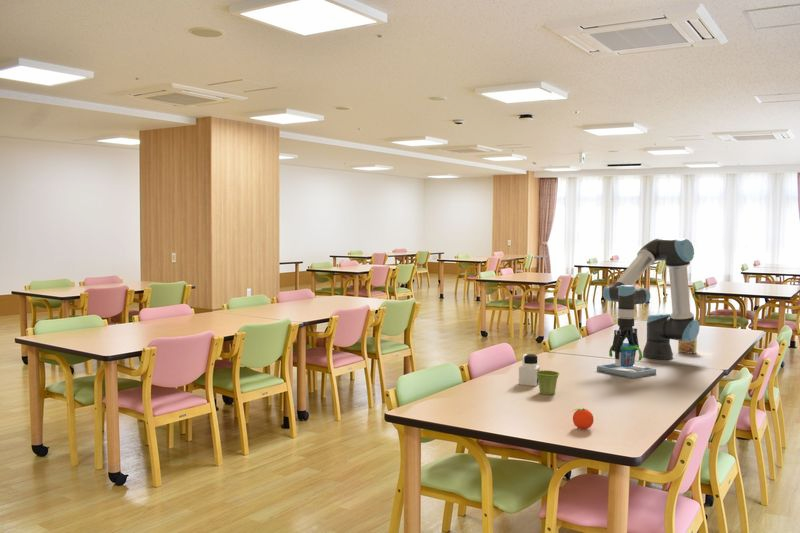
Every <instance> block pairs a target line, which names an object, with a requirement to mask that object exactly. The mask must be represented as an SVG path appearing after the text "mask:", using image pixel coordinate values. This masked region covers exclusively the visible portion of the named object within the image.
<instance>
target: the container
mask: <svg viewBox="0 0 800 533" xmlns="http://www.w3.org/2000/svg"><path fill="white" fill-rule="evenodd" d="M521 363H522V365H521V366H518V385H521V386H531V387H537V385H538V386H539V380H538V375H537V373H536V372H537V371H541V366H540V365H538V356H537V354H532V353H524V354H523V355H522V362H521Z"/></svg>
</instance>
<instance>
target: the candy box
mask: <svg viewBox="0 0 800 533" xmlns="http://www.w3.org/2000/svg"><path fill="white" fill-rule="evenodd" d="M697 339H698V336H697V337H696V338H695V340H693V341H690V342H689V341H680V340H677V341H678V342H677V343H678V347H677V352H678V351H679V353H685V352H689V353H688V354H692V353H695V354H697V345H698V344H697V342H698V340H697Z"/></svg>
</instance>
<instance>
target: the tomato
mask: <svg viewBox="0 0 800 533" xmlns="http://www.w3.org/2000/svg"><path fill="white" fill-rule="evenodd" d="M573 411H575V412H574V413H573V415H572V422H573V425H574V426H575V427H577V429H579V430H588V429H589V428H591V427H592V425H593V424H594V416H593V413H592V412H591V411H590V410H589V409H587V408H576V409H573V410H572V412H573Z"/></svg>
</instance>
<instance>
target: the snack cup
mask: <svg viewBox="0 0 800 533" xmlns="http://www.w3.org/2000/svg"><path fill="white" fill-rule="evenodd" d="M620 349H621V350H620V352H621V366H622V367H631V366H633V365H635V364H634V360H635V361H636V354H637V353H636V352H637V351H638V354H639V356H638V361H642V360H643V351H642V350H641V348H640V346H639V347H637V345H636V344H634V345H632V344H629V342H623V344H622V346H620ZM636 349H637V350H636ZM608 354H609V357H610V358H611V357H613V351H612V345H611V346H610V347H609V353H608Z"/></svg>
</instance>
